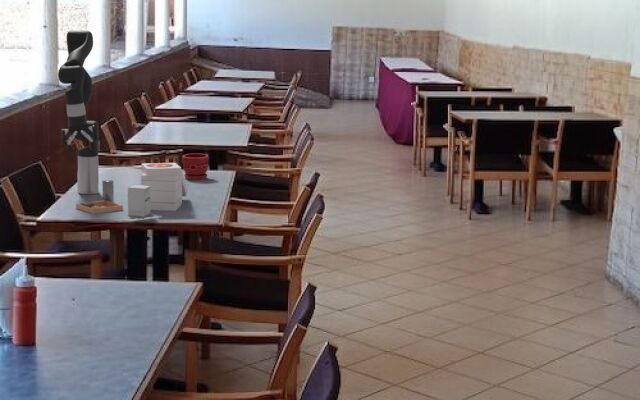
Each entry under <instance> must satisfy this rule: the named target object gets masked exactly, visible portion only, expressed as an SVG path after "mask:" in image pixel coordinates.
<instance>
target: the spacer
mask: <svg viewBox="0 0 640 400" xmlns="http://www.w3.org/2000/svg"><path fill="white" fill-rule="evenodd" d="M114 193H115V192H114V180H113V179H105V180H104V179H103V180H102V200H106V201H110V202H113V203H115V202H114V195H115V194H114Z"/></svg>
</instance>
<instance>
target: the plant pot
mask: <svg viewBox="0 0 640 400" xmlns="http://www.w3.org/2000/svg"><path fill="white" fill-rule="evenodd" d="M181 157H182V159H181V160H182V162H181V163H182V167H183V171H184V174H183V176H184V178H186V179H187V180H193V181H196V180H197V181H199V180H203V179H206V178H207V177H208V174H207V171H208V169H209V162H210V161H209V155H208V154H207V153H206V154H205V153H187V154H183V155H182V156H181Z"/></svg>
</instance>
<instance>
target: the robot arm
mask: <svg viewBox="0 0 640 400" xmlns="http://www.w3.org/2000/svg"><path fill="white" fill-rule="evenodd" d="M66 46H67V54H68V56H67V58H66V61H65V62H64V63H63V64H62V65H61V66H60V68H59V69H58V72H57V77H58V80H59V82H60V83H61V84H66V85H69V84H70V88H69V89H67V90H65V92H64V93H65V94H64V95H65V102H66V114H67V115H66V117H67V122H68V128H61V140H62V144H63V145H67V152H68V153H70V154H72V153H73V150H72V145H71V143H72V142H73V140H74V139H75V141H78V142H89V144H88V145H87V146H84V147H82V148H79V149H78V150H77V173H76V174H77V175H76V176H77V177H76V178H77V179H76V180H77V193H78V194H79V195H80V194H81V195H93V194H95V195H96V194H98V193H99V191H100V190H99V189H100V188H99V185H100V183H99V181H100V180H99V178H100V177H99V138H100V137H99V136H100V135H99V134H100V132H99V131H100V128H99V123H98V121H96V120H87V114H86V113H87V112H86V107H87V105H88V103H89V102H90V100H91V99H92V96H93V92H94V91H93V80H92V77H91V76H90V74H89V72H88V71H87V70H86V69H85V67H84V64H85V60H86V59H87V57H88V56H89V54H90V53H91V52H92V50H93V48H94V36H93V33H92V32H91V31H89V30H68V31H67V33H66ZM68 133H69V134H70V136H69V137H68V139H67V140H66V135H67V134H68Z"/></svg>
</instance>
